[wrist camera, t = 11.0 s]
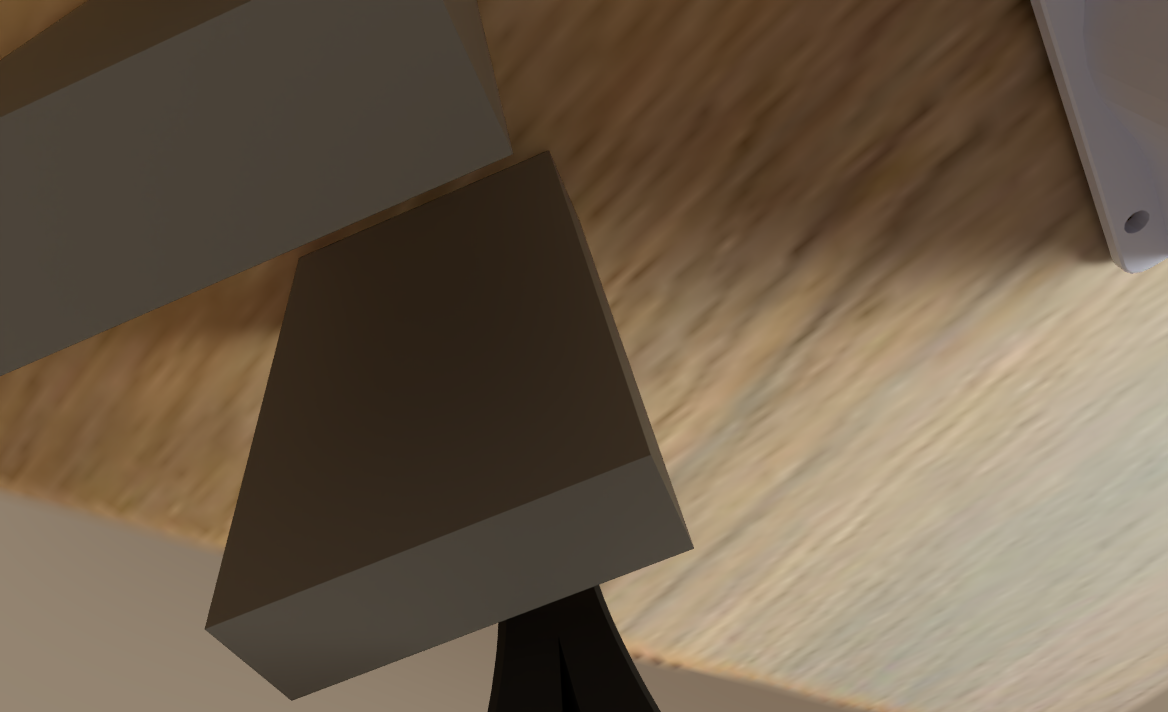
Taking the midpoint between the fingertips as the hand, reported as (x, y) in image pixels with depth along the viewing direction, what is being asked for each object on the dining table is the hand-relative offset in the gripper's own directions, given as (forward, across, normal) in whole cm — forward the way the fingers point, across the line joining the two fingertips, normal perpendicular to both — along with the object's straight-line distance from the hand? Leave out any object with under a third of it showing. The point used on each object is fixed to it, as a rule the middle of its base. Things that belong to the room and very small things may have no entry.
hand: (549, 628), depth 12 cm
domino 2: (+7, +1, -3) cm, 7 cm away
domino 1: (+7, +3, -8) cm, 10 cm away
